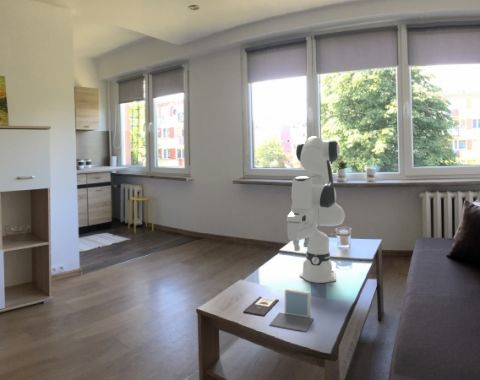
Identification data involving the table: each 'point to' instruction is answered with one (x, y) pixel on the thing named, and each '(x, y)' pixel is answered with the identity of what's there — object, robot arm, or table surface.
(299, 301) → the tile
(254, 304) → the chocolate bar
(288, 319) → the mat
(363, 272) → the table surface
